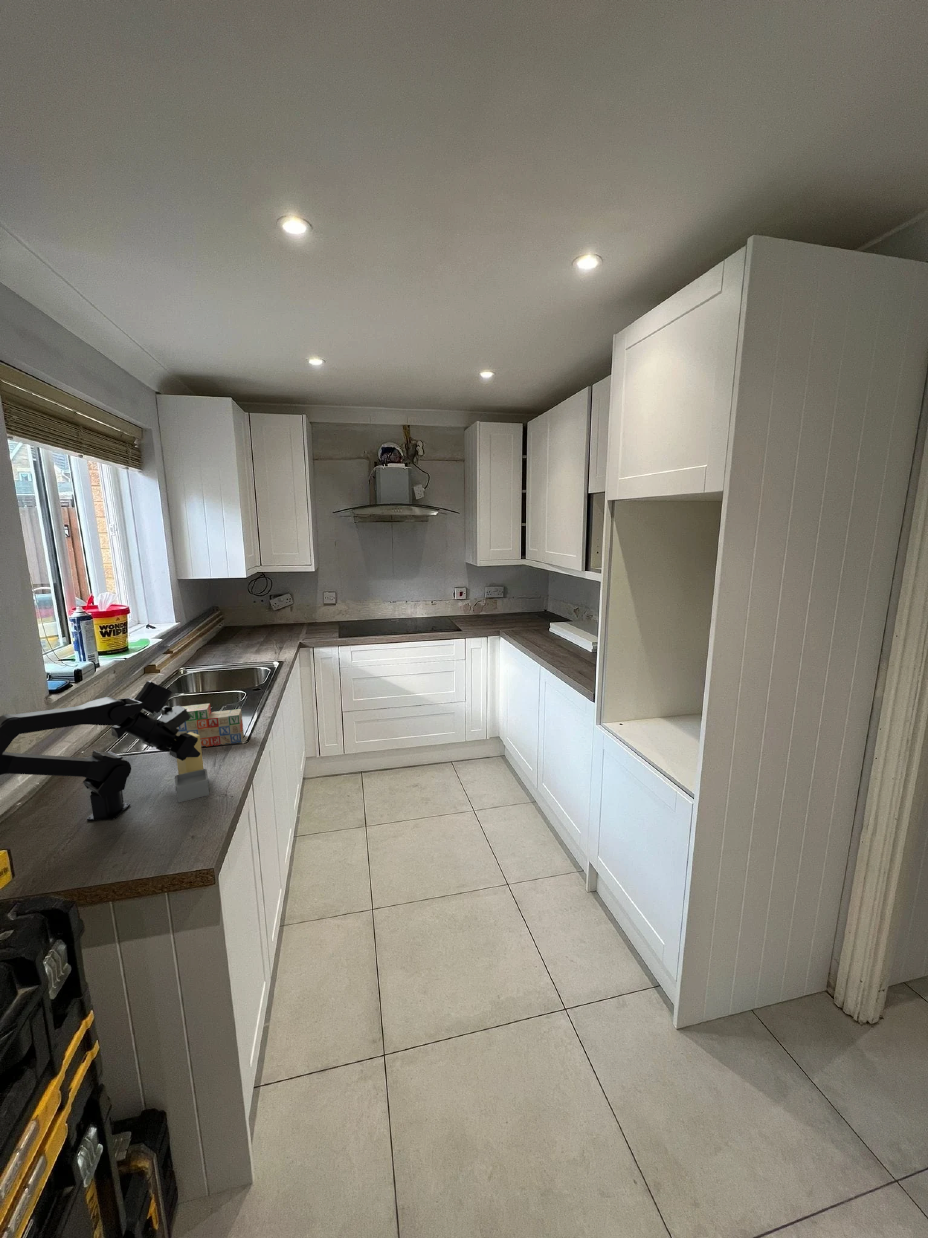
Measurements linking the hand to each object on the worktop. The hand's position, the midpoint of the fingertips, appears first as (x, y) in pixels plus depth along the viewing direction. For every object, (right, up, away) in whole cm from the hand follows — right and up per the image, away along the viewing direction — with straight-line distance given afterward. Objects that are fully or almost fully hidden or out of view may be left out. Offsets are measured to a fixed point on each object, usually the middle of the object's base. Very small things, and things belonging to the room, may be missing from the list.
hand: (194, 753), depth 136 cm
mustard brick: (-1, -7, 0) cm, 7 cm away
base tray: (+4, -8, -8) cm, 12 cm away
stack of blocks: (-9, -3, +23) cm, 25 cm away
